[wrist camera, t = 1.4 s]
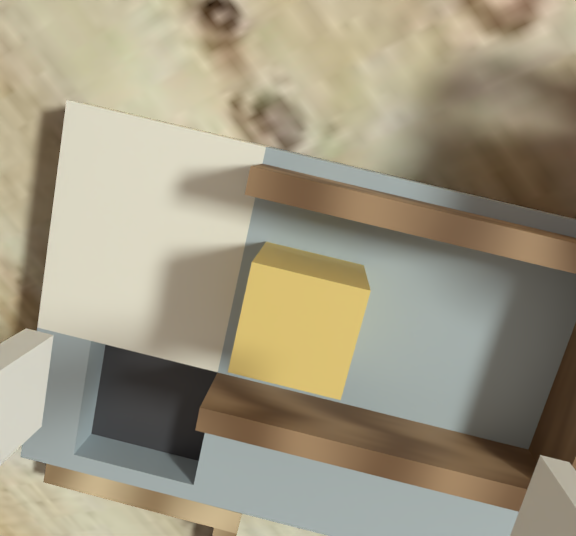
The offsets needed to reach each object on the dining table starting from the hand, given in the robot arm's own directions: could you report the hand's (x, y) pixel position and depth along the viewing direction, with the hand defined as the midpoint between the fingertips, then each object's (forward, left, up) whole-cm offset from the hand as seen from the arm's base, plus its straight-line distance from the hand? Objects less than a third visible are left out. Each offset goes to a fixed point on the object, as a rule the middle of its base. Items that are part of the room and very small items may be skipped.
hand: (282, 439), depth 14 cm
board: (0, -3, -16) cm, 16 cm away
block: (0, 0, -14) cm, 14 cm away
